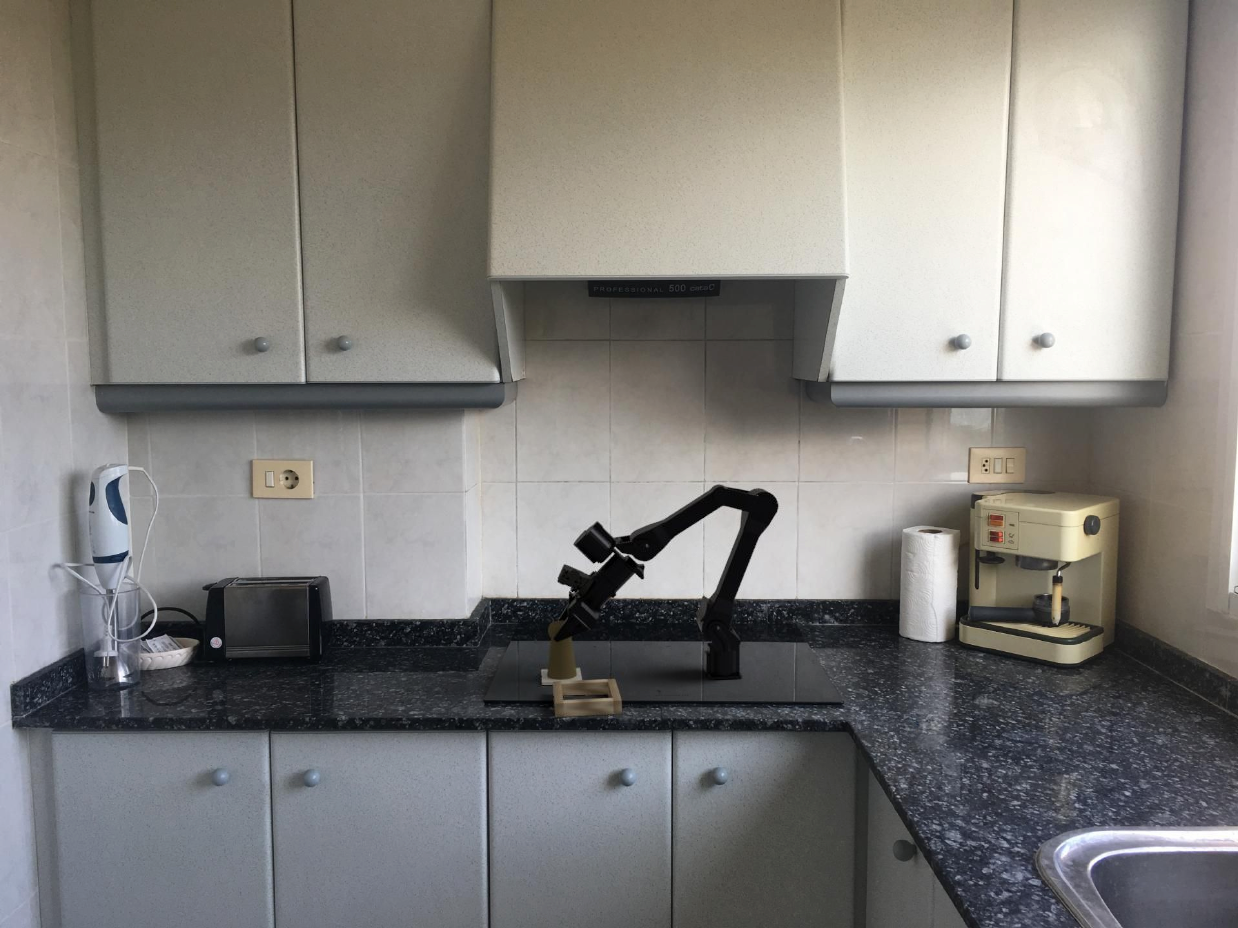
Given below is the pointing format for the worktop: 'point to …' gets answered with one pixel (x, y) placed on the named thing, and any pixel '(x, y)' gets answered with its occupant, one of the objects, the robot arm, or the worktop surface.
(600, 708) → the oak collar
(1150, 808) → the worktop surface
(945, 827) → the worktop surface
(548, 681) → the cream tile
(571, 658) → the olive knobbed peg
